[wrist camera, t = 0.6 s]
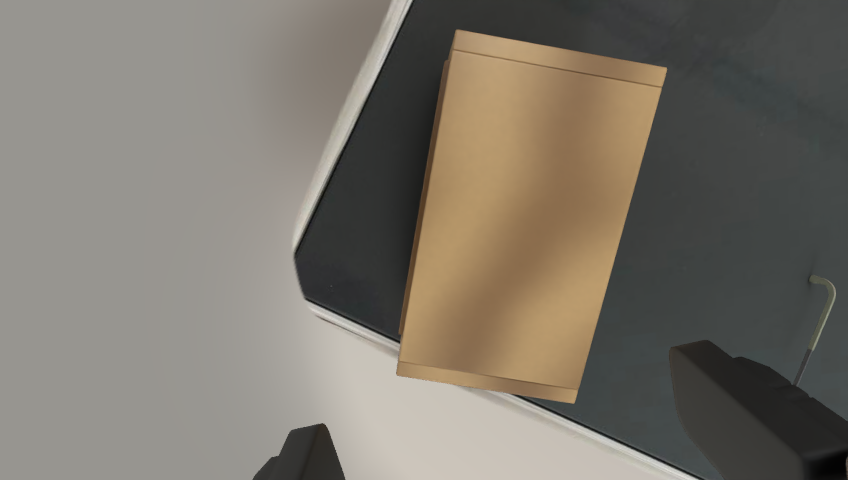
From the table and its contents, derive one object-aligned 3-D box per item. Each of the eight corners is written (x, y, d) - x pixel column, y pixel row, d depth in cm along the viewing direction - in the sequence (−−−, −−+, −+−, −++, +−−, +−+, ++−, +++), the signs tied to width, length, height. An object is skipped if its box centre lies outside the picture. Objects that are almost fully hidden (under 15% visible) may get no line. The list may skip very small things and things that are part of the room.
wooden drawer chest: (403, 296, 33) (391, 375, 22) (442, 66, 29) (451, 27, 19) (527, 317, 33) (575, 404, 23) (581, 91, 30) (668, 67, 19)
